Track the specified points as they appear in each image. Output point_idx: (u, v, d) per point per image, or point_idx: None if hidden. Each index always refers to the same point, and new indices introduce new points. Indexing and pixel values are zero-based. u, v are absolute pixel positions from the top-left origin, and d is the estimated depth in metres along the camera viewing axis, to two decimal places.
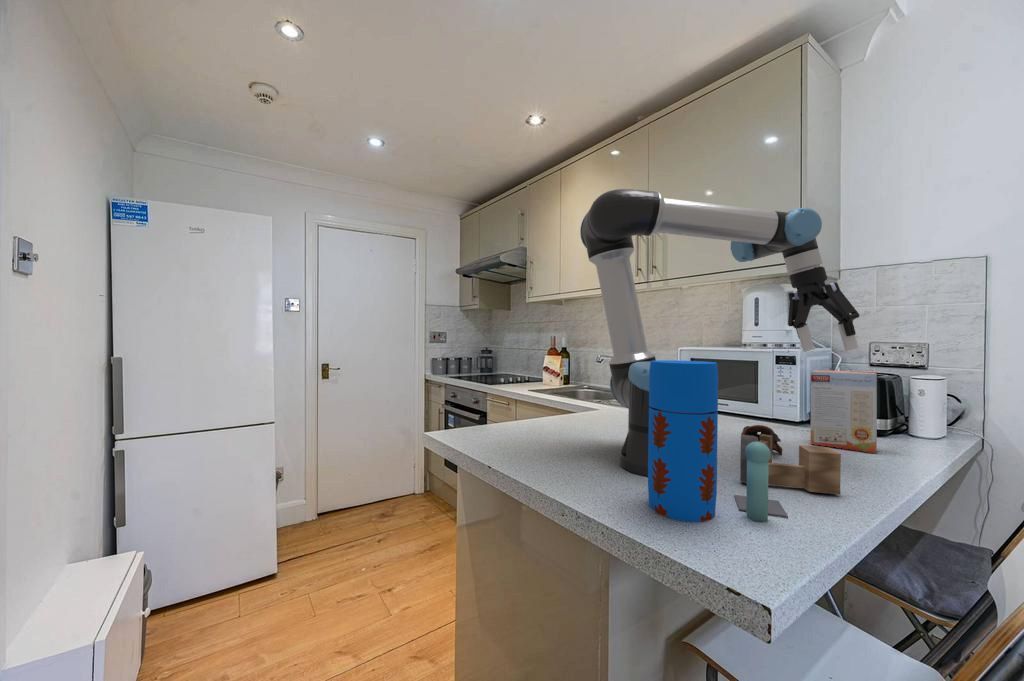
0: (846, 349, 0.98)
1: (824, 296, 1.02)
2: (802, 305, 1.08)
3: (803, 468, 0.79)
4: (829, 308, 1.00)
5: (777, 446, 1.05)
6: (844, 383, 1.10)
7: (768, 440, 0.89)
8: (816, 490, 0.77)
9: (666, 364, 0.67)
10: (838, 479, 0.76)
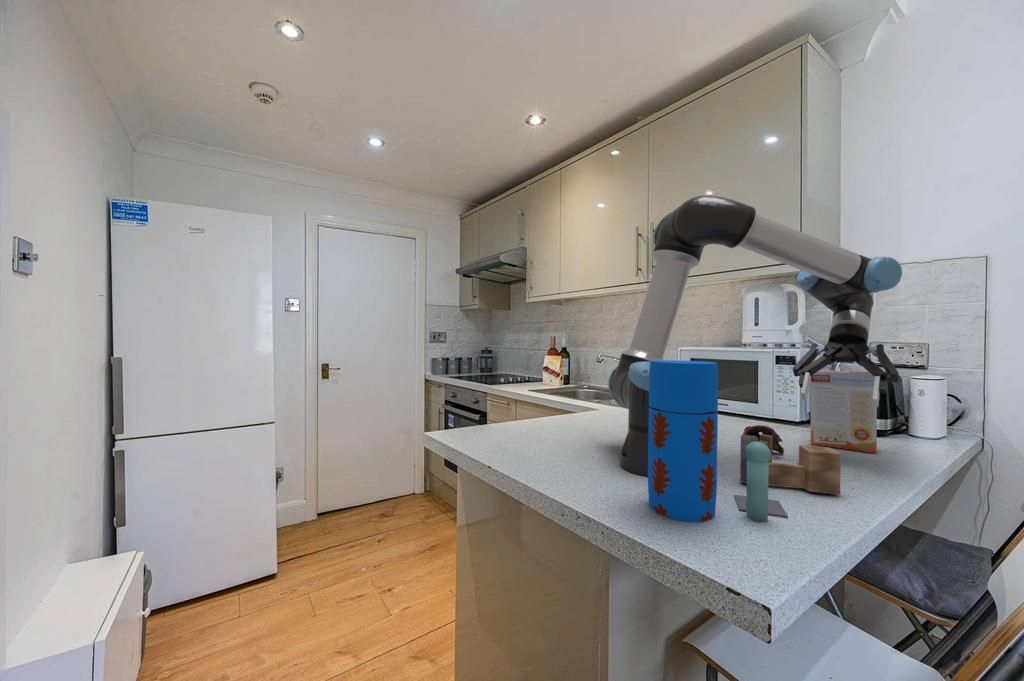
0: (875, 397, 0.87)
1: None
2: (831, 353, 1.00)
3: (803, 468, 0.79)
4: (871, 362, 0.93)
5: (778, 446, 1.05)
6: (844, 383, 1.10)
7: (768, 440, 0.89)
8: (816, 490, 0.77)
9: (666, 364, 0.67)
10: (838, 479, 0.76)
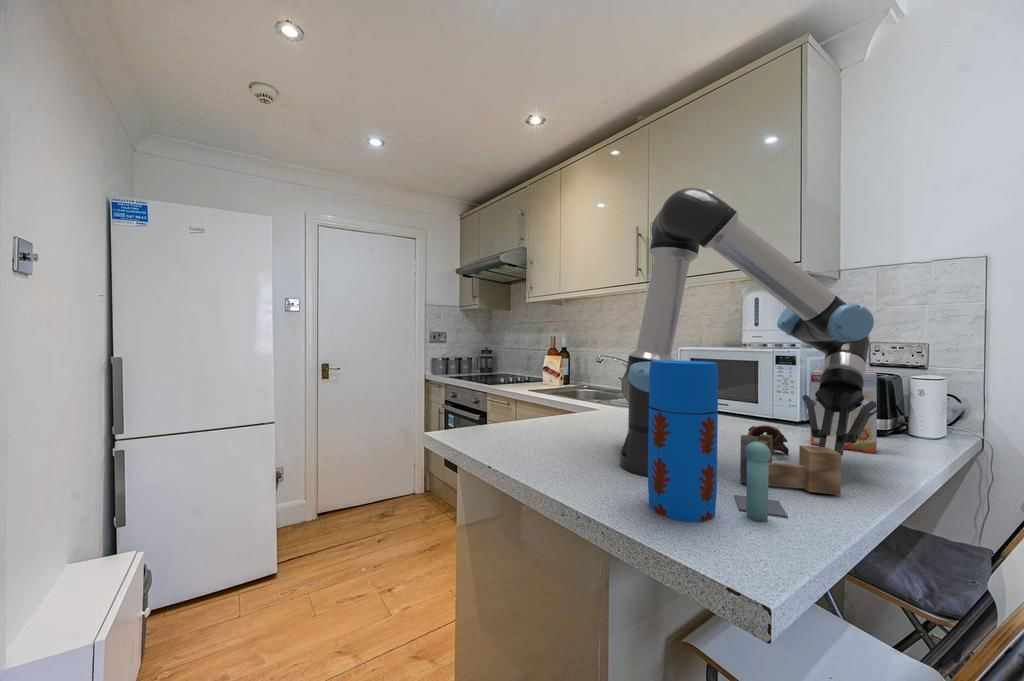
0: None
1: None
2: (832, 404, 0.89)
3: (803, 468, 0.79)
4: (844, 418, 0.85)
5: (783, 446, 1.05)
6: None
7: (768, 440, 0.89)
8: (816, 490, 0.77)
9: (666, 364, 0.67)
10: (838, 479, 0.76)
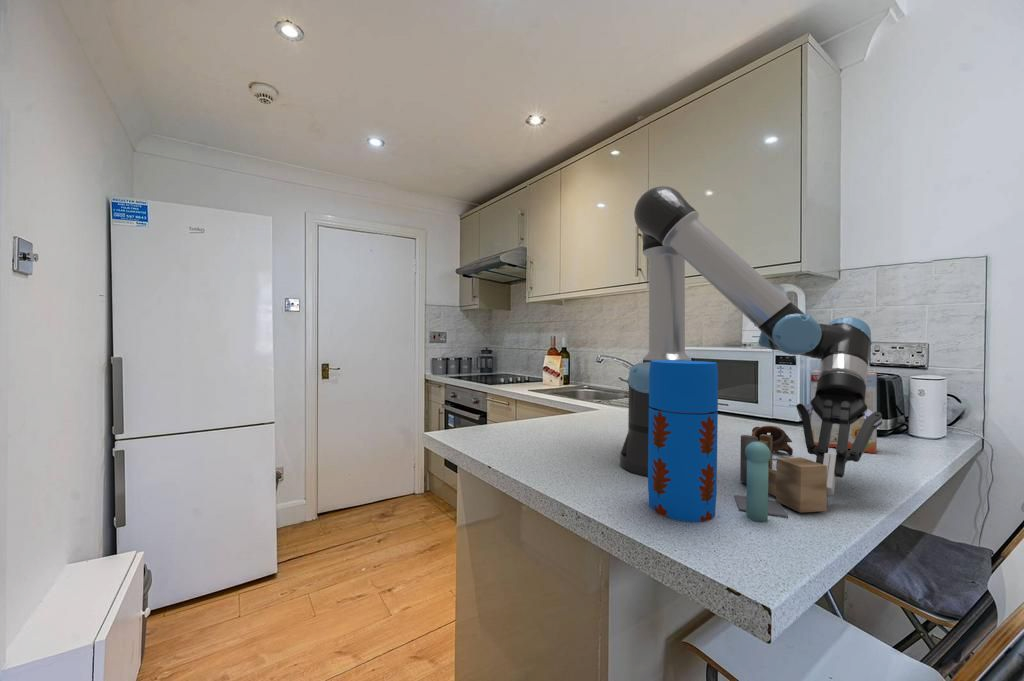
0: (829, 486, 0.69)
1: None
2: (830, 415, 0.77)
3: None
4: (845, 432, 0.74)
5: (787, 447, 1.05)
6: None
7: (768, 440, 0.89)
8: (781, 501, 0.71)
9: (666, 364, 0.67)
10: (799, 495, 0.68)
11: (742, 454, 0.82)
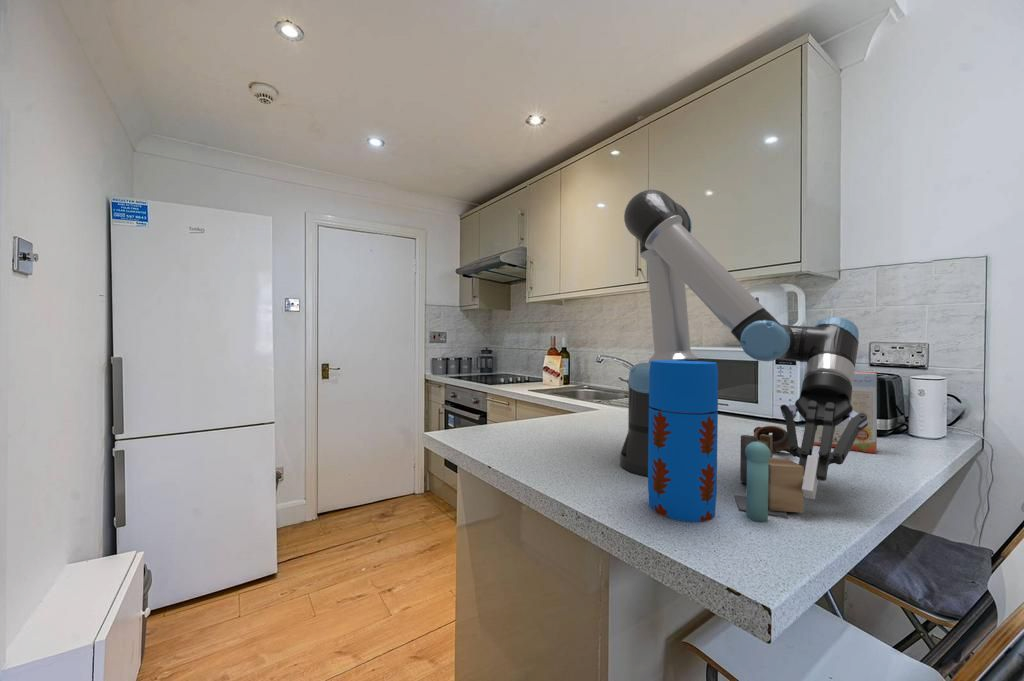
0: (810, 489, 0.66)
1: None
2: (814, 416, 0.74)
3: None
4: (828, 434, 0.71)
5: None
6: None
7: (768, 440, 0.89)
8: None
9: (666, 364, 0.67)
10: (769, 493, 0.69)
11: (741, 453, 0.83)
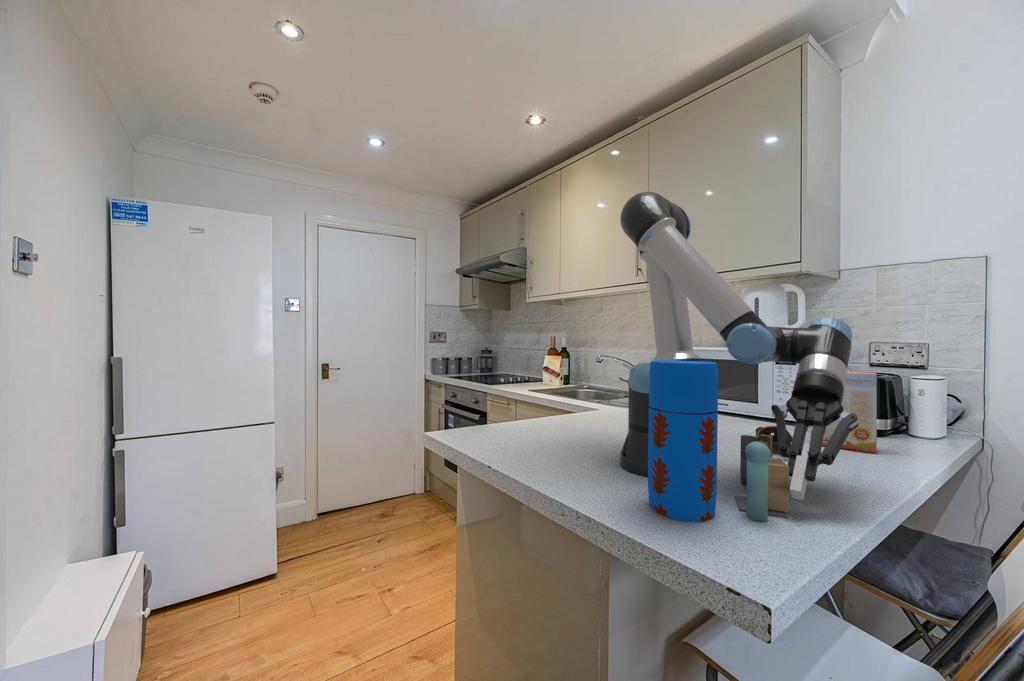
0: (798, 489, 0.65)
1: None
2: (804, 416, 0.73)
3: None
4: (818, 434, 0.70)
5: None
6: None
7: (768, 440, 0.89)
8: None
9: (666, 364, 0.67)
10: None
11: None
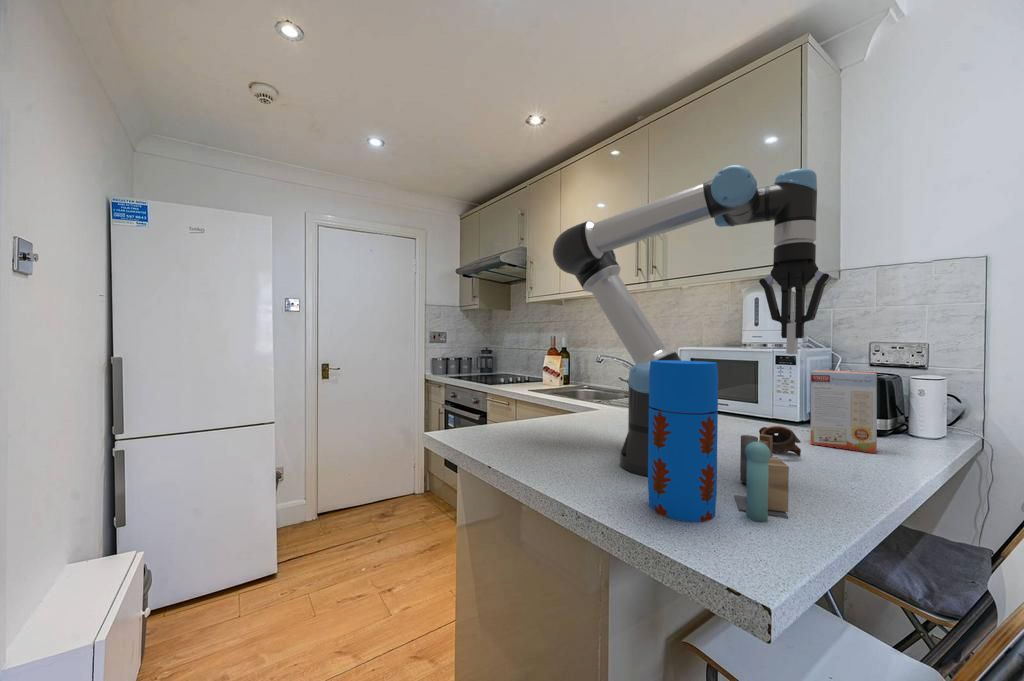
0: (792, 352, 0.88)
1: None
2: (787, 286, 0.88)
3: None
4: (800, 300, 0.87)
5: None
6: (844, 383, 1.10)
7: (768, 440, 0.89)
8: None
9: (666, 364, 0.67)
10: None
11: None
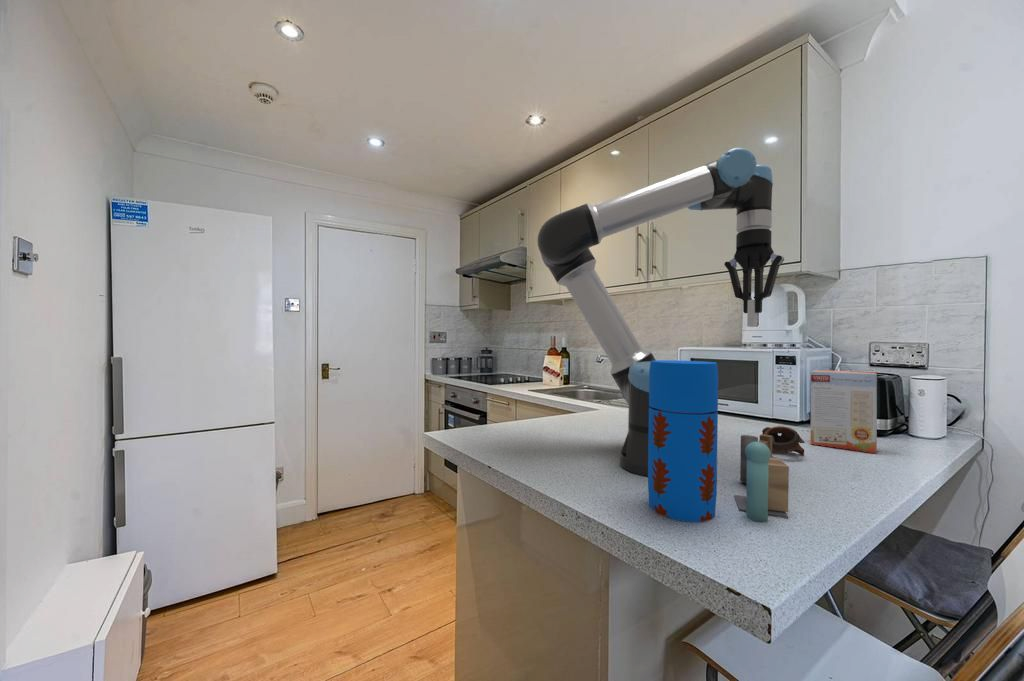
0: (752, 325, 1.01)
1: None
2: (747, 267, 1.01)
3: None
4: (758, 279, 1.00)
5: None
6: (844, 383, 1.10)
7: (768, 440, 0.89)
8: None
9: (666, 364, 0.67)
10: None
11: None
